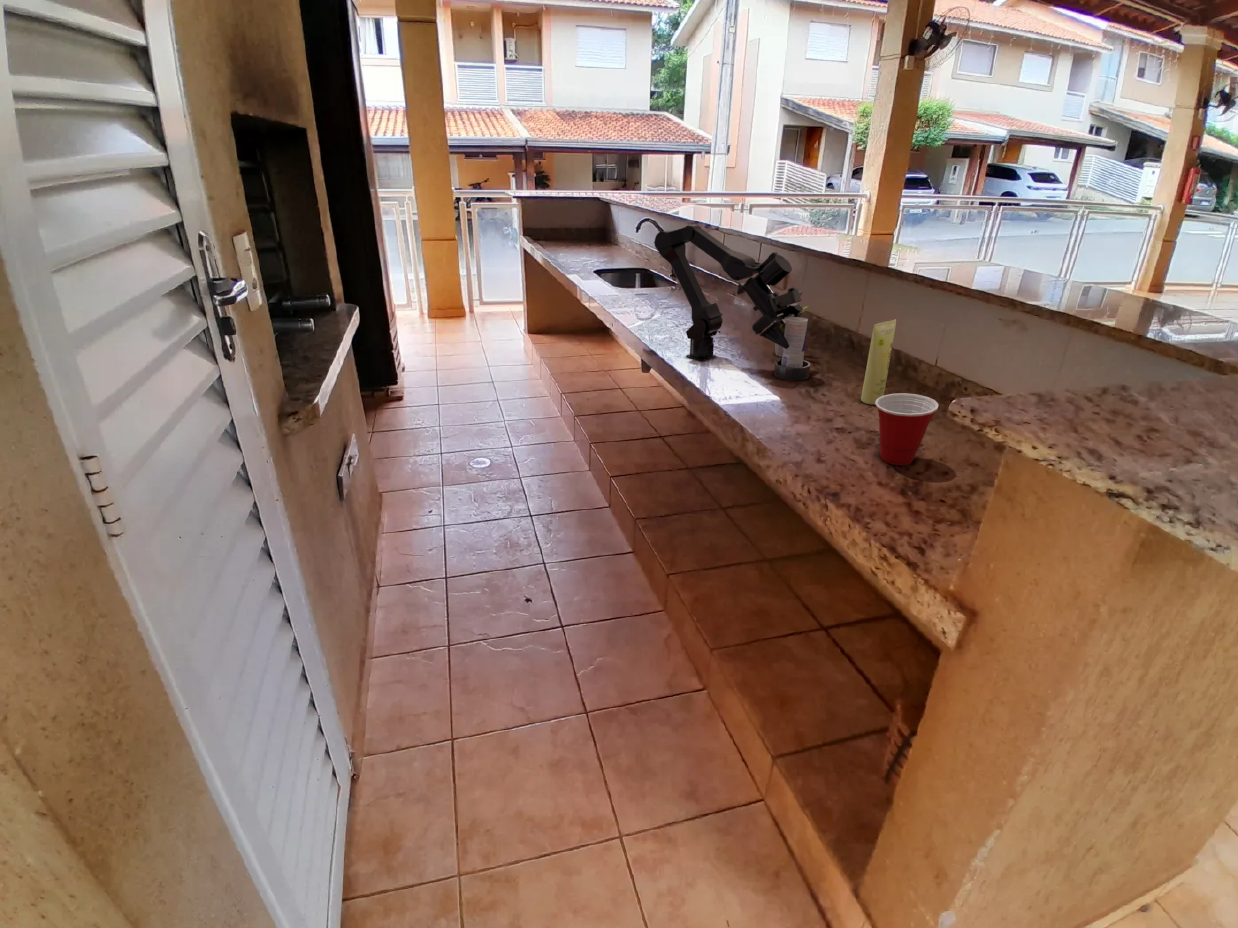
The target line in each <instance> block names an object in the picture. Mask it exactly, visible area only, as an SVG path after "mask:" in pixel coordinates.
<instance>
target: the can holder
mask: <svg viewBox="0 0 1238 928" xmlns="http://www.w3.org/2000/svg"><path fill="white" fill-rule="evenodd" d="M781 362H782V358H780V359H777V360H775V362H774V369H773V375H774V377H776V378H777V379H780V380H784V381H790V382H798V381H805V380H808V379H809V378H810V375H811V373H810V372H811V365H812V364H811V363H810V361H807V360H805V359H803V366H802V367H800V368H792V367H785V366H781Z"/></svg>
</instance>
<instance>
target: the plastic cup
mask: <svg viewBox="0 0 1238 928" xmlns="http://www.w3.org/2000/svg"><path fill="white" fill-rule="evenodd" d="M939 405H940V404H939V403H938V401H936V400H935V399H933V398H932V397H928V396H925V395H921V394H915V393H905V392H903V393H902V392H901V393H890V394H886V395H885V394H884V396H882V397H880V398H878V399H877V400H876V402H875V406H876V409H877V412H878V417H879V419H878V420H879V421H878V422H879V423H878V425H879V455H880V459H881V460H882V461H883V462H885V463H887V464H890V465H893V466H894V465H895V466H908V465H911V464H912V463H913V461H914V459H915V457H916V454H917V452H918V449H919V448H920V447H921V443H922V441H923V438H924V436H925V434H926V431H927V429H928V427H929V424H930V423H931V420H932V418H933V416H934V414H935V412H937V411H938V408H939Z"/></svg>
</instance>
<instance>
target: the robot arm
mask: <svg viewBox="0 0 1238 928" xmlns="http://www.w3.org/2000/svg"><path fill="white" fill-rule="evenodd" d="M688 243H691V244H693V245H694V246H696V247H697V248H698V249H699V250H701V251H702V252H704V253H705V254H706V255H708V256H709V257H710V258H712V259H713V260H715V261H716V262H717V263H718V264H719V265H720V266H721V268H722V270H723V272H724V273H725V274H726V275H727V276H728V277H729V278H730V280H733V281H736V282H738V281H742V280H745V279H747V280H746V281H745V282H744V283H743V282H742V283H738V284H737V291H736V295H738V296H739V295H743V294H746V296H747V297H748V298H749V300H750V301H751V302H752V304H753V305H754V307H752V309H753V311H754V312H756V311H758V312H759V313H760V315H761V317H760V318H758V319H757V320H756V321H754V323H753V324H752V325H751V330H752V332H753V333H754V334H755V336H758V335H759V337H762V338H765V339H766V340H769V341H771V342H773V343H774V344H775V343H776V344H778V345H780V346H782V347H784V348H785V349H787V348H789V344H788V342H787V340H786V338H785V336H784V335H783V333H782V331H781V329H780V324H781V326H782V327H783V328H784V329H785V325H786V318H789V317H801V315H802V314H803V313H802V310H803V307H802V306H801V304H800V303H799V302H802V301H803V300H802V295H803V292H802V291H801V289H800V288H798V287H797V286H796V285H795V286H792V287H790V288H787V292H786V293H783V294H780V293H779V292H777V291H775V292H774V291H773V290H772V289H771V288H770V286H772V287H776V286H777V285H778V284H779V283H780V282H781V281H782V280H783V279H785V277H787V276H788V275H789V274H790V273H791V272H792V271H793V267H792V265H791V263H790V261H789V260H788V259H786V258H785V257H784V256H782V255H780V254H779V253H778V252H777V251H774V252H771V253H770V254H769V255H768V257H767V258H766V259H765V260H764V261H763V262H760V261H759V262H758V261H756V260H755V259H754V257H751V256H750V255H748V254H745V253H743V252H741V251H740V252H739V251H736V250H733V249H731V248H729V247H728V246H727V245H725V244H724V243H722V242H721V241H720V240H718V239H717V238H715V236H713V235H711V234H710V233H709V232H707V231H705V229H703V228H702V227H701V226H700V225H699V224H690V225H689V224H688V225H686V226H684V227H682V228H678V229H669V230H662V231H659V232H658V233H657V234H656V235H655V238H654V241H653V244H654V248H655V249H656V251H657V252H658V253H659V255H660V256H661V257H662V258H663V259H664V260H665V261H666V262H667V263H668V264H669V265H670V266H671V269H672V271H673V273H674V275H675V277H676V279H677V281H678V283H679V285H680V287H681V289H682V291H683V294H684V295H685V297H686V300H687V301H688V304H689V305H690V308H691V322H692V325H691V326H690V327H689V328H688V329H687V330H685V334H686V337H687V339H688V340H689V354H686V355H685V357H686V358H688V359H692V360H696V361H701V362H704V361H707V360H710V359H713V358H716V356H717V355H716V354H714V352H715V351H714V349H715V348H714V347H715V344H714V343H715V342H714V336H717V333H718V331H719V330H720V329H721V327H722V325H723V321H724V320H723V318H722V316H723V313H722V312H721V311H720V309H719V306H718V303H717V302H714V303H710V302H709V301H708V300H707V297H706V296H705V293H704V292H703V290H702V287H701V285H700V283H699V281H698V279H697V277H696V275H695V273H694V271H693V269H692V266H691V264H690V262H689V260H688V257H687V256H686V244H688ZM756 274H757V275H756ZM754 275H756V276H755V277H753V276H754ZM783 324H784V325H783Z"/></svg>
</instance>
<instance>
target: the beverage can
mask: <svg viewBox="0 0 1238 928" xmlns="http://www.w3.org/2000/svg"><path fill="white" fill-rule="evenodd" d="M808 321H809V319H808V318H805V317H802V316H800V317H789V318H786V325H785V334H784V336H785V338H786V340H787V342H788V344H789V348H787V349H785V348H784V347H783V353H782V357H781V359H782V362H781V366H785V367H792V368H800V367H802V366H803V360H804V356H805V349H806V342H807V341H806V340H807V331H808Z"/></svg>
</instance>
